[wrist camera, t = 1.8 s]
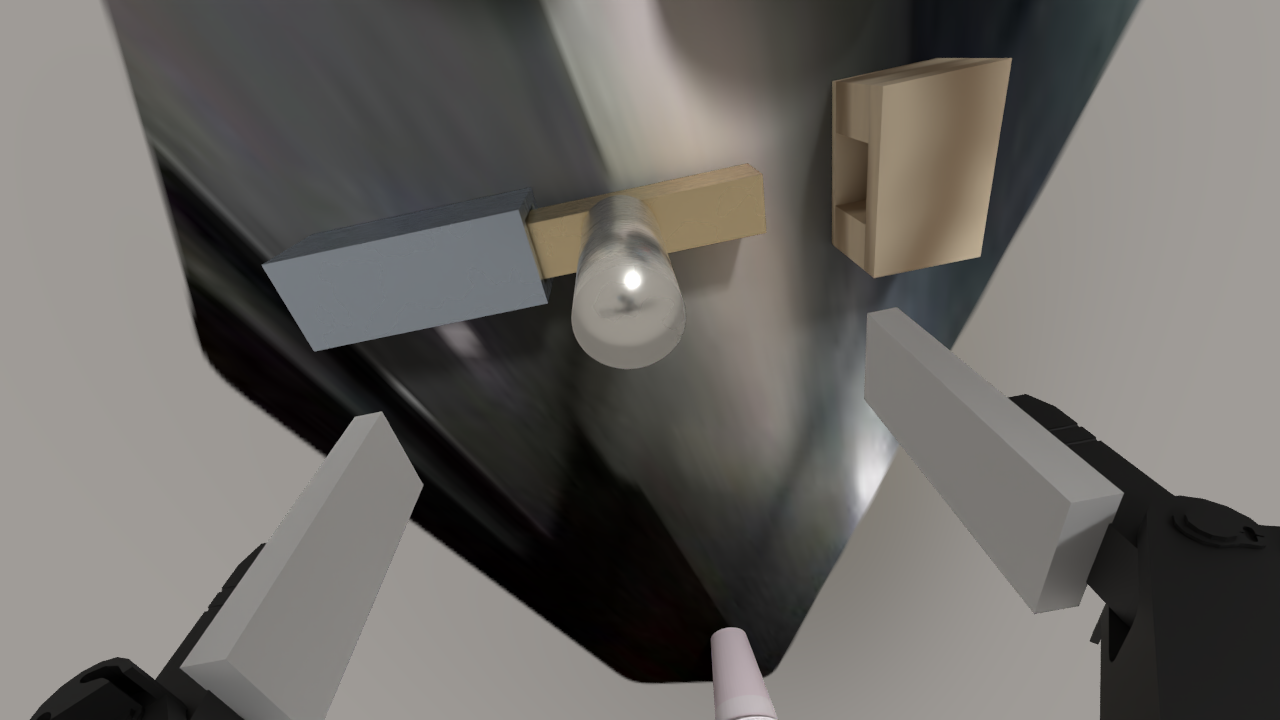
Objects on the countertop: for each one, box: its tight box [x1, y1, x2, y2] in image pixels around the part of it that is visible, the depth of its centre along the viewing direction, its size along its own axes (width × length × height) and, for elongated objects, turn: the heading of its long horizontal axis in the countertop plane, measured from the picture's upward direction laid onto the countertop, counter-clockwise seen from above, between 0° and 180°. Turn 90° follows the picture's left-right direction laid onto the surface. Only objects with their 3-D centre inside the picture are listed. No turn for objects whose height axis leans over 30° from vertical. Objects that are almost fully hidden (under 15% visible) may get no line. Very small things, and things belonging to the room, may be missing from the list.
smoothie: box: [711, 627, 778, 720], centre depth 47 cm, size 6×6×14 cm
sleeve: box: [262, 187, 554, 351], centre depth 28 cm, size 13×5×5 cm, turn 101°
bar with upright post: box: [525, 164, 766, 369], centre depth 24 cm, size 23×4×13 cm, turn 101°
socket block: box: [832, 58, 1012, 278], centre depth 27 cm, size 6×9×6 cm, turn 11°
